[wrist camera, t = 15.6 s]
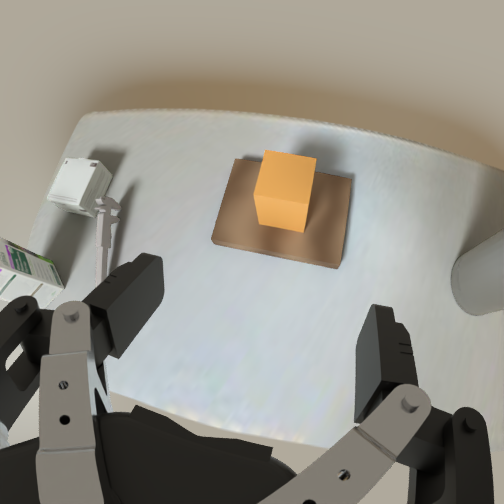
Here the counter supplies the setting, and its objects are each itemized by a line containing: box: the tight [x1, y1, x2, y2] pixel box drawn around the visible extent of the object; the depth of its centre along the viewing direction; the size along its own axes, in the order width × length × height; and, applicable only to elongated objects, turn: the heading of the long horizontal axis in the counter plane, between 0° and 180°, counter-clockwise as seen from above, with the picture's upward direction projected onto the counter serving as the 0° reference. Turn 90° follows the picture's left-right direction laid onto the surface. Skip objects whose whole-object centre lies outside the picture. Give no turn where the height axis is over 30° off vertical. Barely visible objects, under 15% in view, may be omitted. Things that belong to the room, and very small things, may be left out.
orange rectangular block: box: [253, 150, 317, 233], centre depth 36 cm, size 6×6×8 cm
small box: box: [47, 157, 113, 218], centre depth 44 cm, size 8×8×5 cm
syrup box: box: [0, 237, 64, 309], centre depth 35 cm, size 6×6×14 cm
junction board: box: [211, 159, 352, 269], centre depth 41 cm, size 16×12×2 cm
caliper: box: [94, 196, 121, 288], centre depth 39 cm, size 20×1×6 cm, turn 179°
